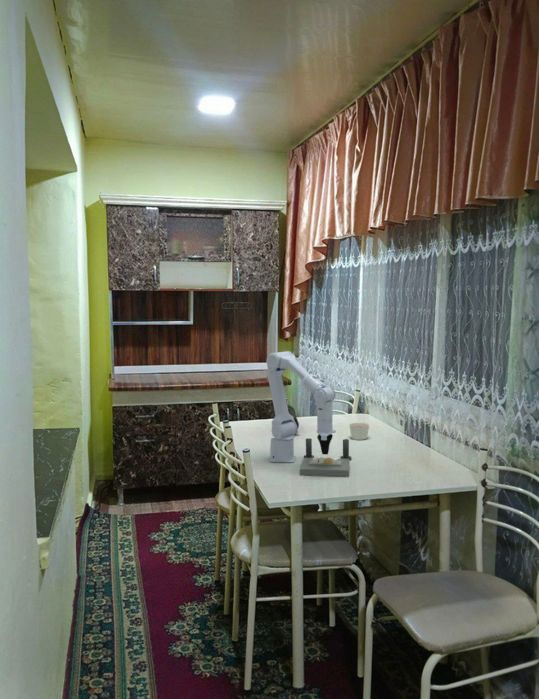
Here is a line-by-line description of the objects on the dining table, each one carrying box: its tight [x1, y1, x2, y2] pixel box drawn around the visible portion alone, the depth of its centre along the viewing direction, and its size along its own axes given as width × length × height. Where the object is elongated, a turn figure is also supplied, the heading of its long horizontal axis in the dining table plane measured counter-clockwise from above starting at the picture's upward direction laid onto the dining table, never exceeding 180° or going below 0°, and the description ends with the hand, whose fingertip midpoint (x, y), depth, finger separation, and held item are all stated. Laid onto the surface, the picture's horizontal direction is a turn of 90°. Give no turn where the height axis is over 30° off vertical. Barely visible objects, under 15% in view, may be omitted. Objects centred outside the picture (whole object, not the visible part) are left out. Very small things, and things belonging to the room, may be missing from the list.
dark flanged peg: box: [339, 438, 352, 462], centre depth 234 cm, size 4×4×8 cm
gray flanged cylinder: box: [303, 438, 315, 458], centre depth 237 cm, size 4×4×8 cm
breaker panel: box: [299, 456, 350, 478], centre depth 221 cm, size 18×14×5 cm
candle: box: [348, 422, 370, 441], centre depth 266 cm, size 9×9×6 cm
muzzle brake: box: [283, 403, 300, 431], centre depth 285 cm, size 10×28×10 cm, turn 2°
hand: (325, 453), depth 220 cm, fingers closed
